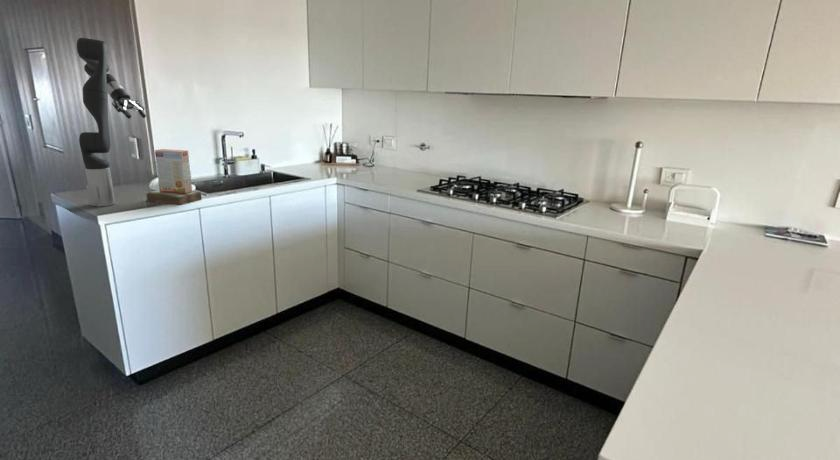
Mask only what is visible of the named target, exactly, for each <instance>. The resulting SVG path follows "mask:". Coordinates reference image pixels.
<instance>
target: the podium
mask: <svg viewBox="0 0 840 460" xmlns="http://www.w3.org/2000/svg"><path fill="white" fill-rule="evenodd" d="M146 199H147V201H149V202H157V203H164V204H170V205H175V206H177V205H178V206H180V205H181V206H182V205H185V204H188V203H189V204H190V203H193V202H197V201H201V200H202V192H200V191H196V190H192V192H190V193H186V194H181V193H168V192H160V189H157V190H152V191H148V192H147V193H146Z"/></svg>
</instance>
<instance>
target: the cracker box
mask: <svg viewBox="0 0 840 460" xmlns="http://www.w3.org/2000/svg"><path fill="white" fill-rule="evenodd" d="M154 155H155V163H156V171H157V179H158V186H159V189H158V190H160V192H168V193H181V194H186V193H190V192H192V191H193V186H192V177H191V168H190V158H189V155H190V154H189V150H180V149H167V148H165V149H164V148H162V149H161V148H160V149H155V150H154Z"/></svg>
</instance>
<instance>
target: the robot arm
mask: <svg viewBox="0 0 840 460" xmlns="http://www.w3.org/2000/svg"><path fill="white" fill-rule="evenodd" d="M76 51H77V55H78V57H79V58H81V60H83V61H84V62H85V64H84V66H83V68H84V72H85V73H86V74H87V75H88V76H89V78H88V79H87V80H86V82H85V83H84V84H83V86H82V102H83V105H84V106H85V108H86V109H87V111H88V112H89V113H90V115H91V116H92V117H93V119H94V120H95V122H96V124H97V129H98V132H96V131H94V132H93V131H92V132H91V131H89V132H88V131H85V132H80V135H79V137H78V138H79V139H78V143H79V147H80V151H81V152H80V153H81V155H82V161H83V164H84V167H85V174H86V179H87V184H86V185H85V187H86V192H87V194H86V195H87V199H88V204H89V205H88V206H90V207H98V208H99V207H108V206H113V205H115V204H116V200H115V193H114V188H113V187H114V186H113V180H112V175H111V168H110V161H108V160H107V159H102V158H100V157H98V156H97V155H96V154H107V153H109V152H110V149H111V136H110V127H109V111H108V109H109V106H108V105H109V100H108V99H109V97H110V98H111V99H112V100H113V101H112V102H111V105H112V106H113V107H114V109H115V110H116V112H117V113H121V114H123V115H124V116H125V118H126V119H128V120H129V119H131V118H132V114H131V113H130V112H129V110H132V111H134V112H137V113H138V114H139V115H140V117H141V118H143V119H145V118H146V117H147V114H146V112H144V111H145V109H146V108H145V106H144V105H142V103H141V102H140V101H139V99H138V100H137V99H136V100H132V99H131V95H130V94H129V92H127V91H126V89H125V88H124V87H123V86H122V84H120V82H118V80H117V79H116V78H115V77H114V76H113V75H112V74H110V73H108V72H109V71H110V66H109V64H108V46H107V43H106V42H105V41H103V40H102V39H101V40H100V39H95V38H86V37H79V38H78V39H77V41H76ZM108 95H109V96H108Z"/></svg>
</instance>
